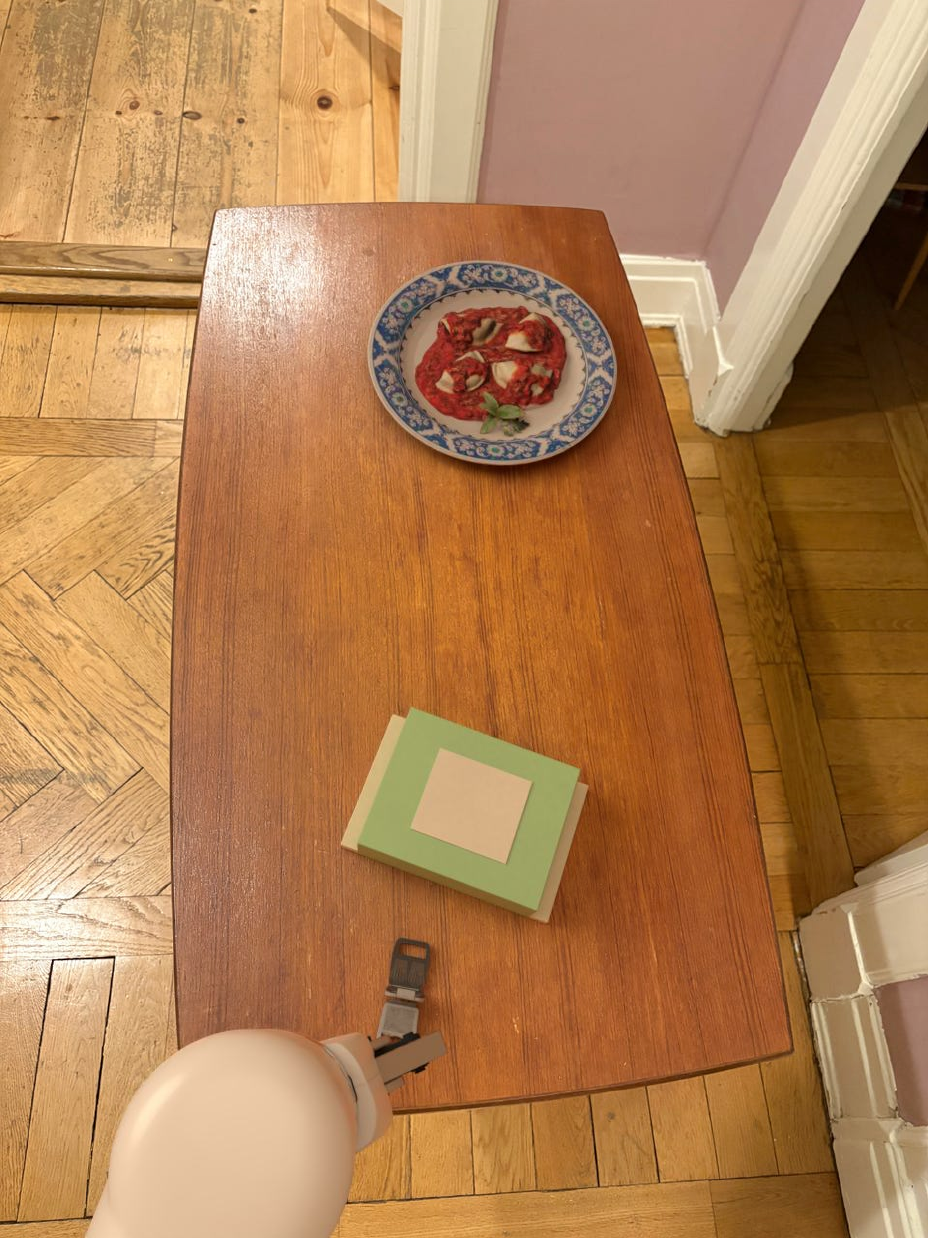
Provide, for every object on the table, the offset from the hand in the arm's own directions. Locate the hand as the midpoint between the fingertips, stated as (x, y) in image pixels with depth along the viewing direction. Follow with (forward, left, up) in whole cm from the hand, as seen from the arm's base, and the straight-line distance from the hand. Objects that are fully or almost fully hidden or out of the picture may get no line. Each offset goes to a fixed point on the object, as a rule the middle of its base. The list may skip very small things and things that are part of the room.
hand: (294, 1099), depth 55 cm
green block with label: (+23, -4, -18) cm, 30 cm away
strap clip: (+8, -4, -18) cm, 21 cm away
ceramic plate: (+68, +9, -18) cm, 71 cm away
